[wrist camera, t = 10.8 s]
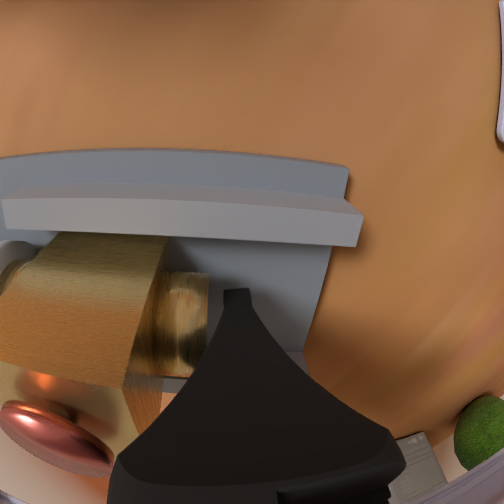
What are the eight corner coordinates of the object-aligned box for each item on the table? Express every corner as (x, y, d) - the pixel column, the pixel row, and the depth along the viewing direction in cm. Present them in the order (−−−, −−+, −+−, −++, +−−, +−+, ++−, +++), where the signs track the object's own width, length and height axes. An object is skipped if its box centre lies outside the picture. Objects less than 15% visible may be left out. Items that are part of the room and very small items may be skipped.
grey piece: (342, 165, 9) (437, 224, 5) (290, 370, 14) (314, 460, 9) (-52, 167, 7) (-128, 210, 3) (-3, 337, 12) (-40, 402, 7)
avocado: (505, 369, 20) (553, 446, 10) (482, 405, 24) (519, 473, 13) (451, 404, 21) (497, 496, 10) (433, 434, 24) (467, 511, 14)
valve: (211, 237, 10) (206, 438, 4) (206, 329, 11) (207, 498, 5) (33, 228, 9) (-81, 354, 3) (54, 314, 10) (-9, 445, 4)
